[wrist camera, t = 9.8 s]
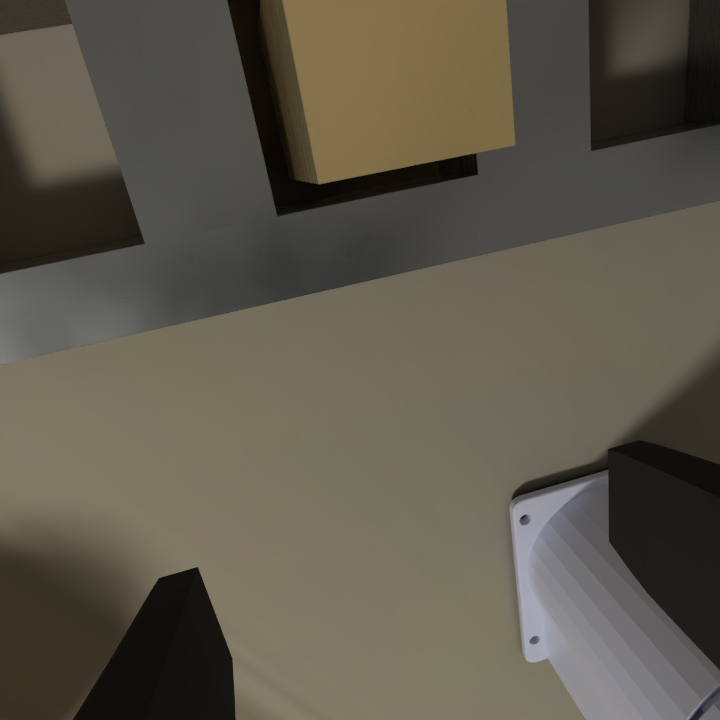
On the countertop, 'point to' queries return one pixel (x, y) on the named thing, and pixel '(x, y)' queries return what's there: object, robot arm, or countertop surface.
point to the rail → (336, 213)
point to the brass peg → (386, 82)
